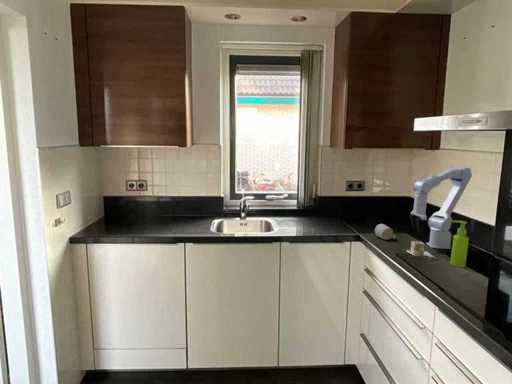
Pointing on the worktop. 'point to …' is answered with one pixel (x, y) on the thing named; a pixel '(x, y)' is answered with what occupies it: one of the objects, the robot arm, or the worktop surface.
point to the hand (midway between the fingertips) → (417, 230)
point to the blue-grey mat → (424, 254)
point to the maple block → (417, 248)
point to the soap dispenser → (459, 246)
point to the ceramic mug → (384, 232)
